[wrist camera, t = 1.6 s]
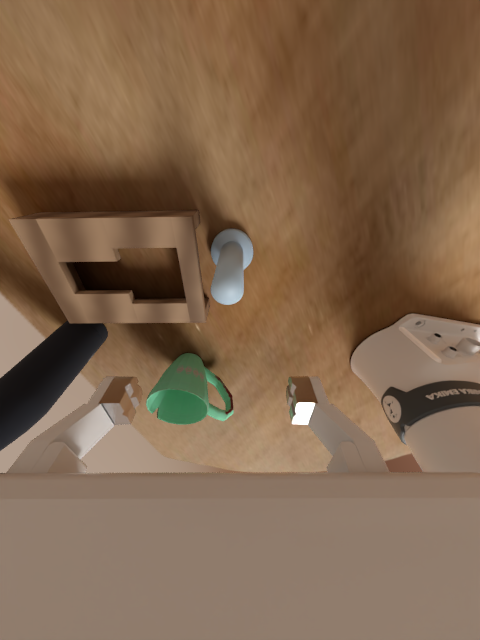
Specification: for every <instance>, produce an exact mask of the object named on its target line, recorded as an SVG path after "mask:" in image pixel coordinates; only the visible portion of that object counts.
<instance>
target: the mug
mask: <svg viewBox="0 0 480 640" xmlns="http://www.w3.org/2000/svg"><path fill="white" fill-rule="evenodd" d="M207 381H208V382H210V383H211V384H212V385H214V386H215V387H216V389H217V390H218V392H219V394H220V395H221V397H222V398H223V400H224V402H225V403H226V411H225V410H221V409H219V408H217V407H215V406H213V405H212V404H210V403H209V400H208V390H207ZM146 406H147V408H148V410H149V411H150V412H151V413H153V412H154V411H155V410H156V409H157V408H158V412H157V418H158V419H160V420H162V421H165V422H168V423H173V424H185V425H186V424H193V423H196V422H199V421H201V420H202V419H204V418H205V417H206V416H207V415H209V416H211V417H213V418H215V419H218V420H221V421H224V420H226V419H227V418H228V417H230V416H231V415H232V414H233V400H232V395H231V393H230V392H229V391H228V389H227V388H226V386H225V385H224V383H223V382H222V381H221V379H220V378H219V377H217V376H216V375H215V374H213V373H212V372H211V371H209V370H208V369H207V368H205V367H204V365H203V362H202V360H201V358H200V357H199V356H197V355H195V354H192V353H185V354H182V355H180V356H179V357H178V358H177V359H176V360H175V361H174V362H173V363H172V364H171V365H170V366H169V368H168V369H167V370H166V371H165V372H164V374H163V375H162V377H161V378H160V380H159V381H158V383H157V384H156V385H155V387H154V388H153V389H152V390H151V392H150V393H149V395H148V397H147V401H146Z"/></svg>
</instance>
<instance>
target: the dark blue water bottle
mask: <svg viewBox="0 0 480 640" xmlns="http://www.w3.org/2000/svg"><path fill="white" fill-rule="evenodd" d="M107 336H108V332H107V329H106V327H105V326H104V325H103V323H69V321H68V320H67V321H66V322H65V323H64V324H63V325H62V326H60V327H59V328H58V329H57V330H56V331H55V332H54V333H52V334H51V335H50V336H49V337H48V338H47V339H45V340H44V341H43V342H42V343H41V344H40V345H39V346H37V347H36V348H35V349H34V350H33V351H32V352H30V353H29V354H28V355H27V356H26V357H25V358H23V359H22V360H21V361H20V362H19V363H18V364H17V365H15V366H14V367H13V368H12V369H11V370H10V371H8V372H7V373H6V374H5V375H4V376H3V377H1V378H0V451H1V450H2V449H4V448H5V447H6V446H7V445H9V444H10V443H12V442H13V441H14V440H16V439H17V438H18V437H20V436H21V435H22V434H24V433H25V432H26V431H27V430H29V429H30V428H31V427H32V426H33V425H34V424H35V423H37V422H38V421H39V420H40V419H41V418H42V417H43V416H44V415H45V414H46V413H47V412H48V411H49V410H50V408H51V407H52V406H53V405H54V403H55V402H56V401H57V400H58V398H59V397H60V396H61V395H62V394H63V392H64V391H65V390H66V388H67V387H68V386H69V385H70V384H71V382H72V381H73V380H74V379H75V377H76V376H77V375H78V374H79V372H80V371H81V370H82V369H83V367H84V366H85V365H86V364H87V362H88V361H89V360H90V359H91V357H92V356H93V355H94V354H95V352H96V351H97V350H98V349H99V347H100V346H101V345H102V344H103V342H104V341H105V340H106V338H107Z"/></svg>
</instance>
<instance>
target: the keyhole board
mask: <svg viewBox="0 0 480 640" xmlns="http://www.w3.org/2000/svg"><path fill="white" fill-rule="evenodd" d="M8 220H9V221H10V223H11V225H12V226H13V228H14V230H15V231H16V233H17V235H18V237H19V238H20V240H21V242H22V243H23V245H24V247H25V248H26V250H27V252H28V254H29V255H30V257H31V259H32V260H33V262H34V264H35V265H36V267H37V269H38V271H39V272H40V274H41V276H42V277H43V279H44V281H45V282H46V284H47V286H48V288H49V289H50V291H51V293H52V294H53V296H54V298H55V299H56V301H57V303H58V305H59V306H60V308H61V310H62V311H63V313H64V315H65V316H66V318H67V320H68V321H69V323H206V320H207V316H208V311H209V307H210V304H209V298H204V293H203V285H202V278H201V270H200V262H199V254H198V246H197V239H196V231H195V229H196V228H197V227H198V225H199V224H200V216H199V210H168V211H104V212H40V213H36V214H31V215H26V216H22V217H17V218H13V219H8ZM117 248H177V253H178V259H179V264H180V269H181V275H182V280H183V286H184V291H185V297H186V298H166V299H135V298H134V295H133V292H132V290H102V291H86V290H85V288H84V286H83V284H82V281H81V279H80V277H79V275H78V273H77V271H76V269H75V267H74V265H73V263H72V262H109V261H118V260H120V259H121V257H120V254H119V251H118V249H117Z"/></svg>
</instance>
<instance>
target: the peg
mask: <svg viewBox="0 0 480 640" xmlns="http://www.w3.org/2000/svg"><path fill="white" fill-rule="evenodd" d="M211 256H212V259H213V261H214V263H215V264H216V265H217V267H216V270H215V274H214V278H213V281H212V285H211V294H212V296H213V298H214V299H215V300H216V301H218V302H219V303H221V304H225V305H230V304H234V303H236V302H238V301H239V300H240V299H241V298H242V296H243V291H244V279H243V270H244V269H245V268H246V267H247V266H248V265H249V264H250V262H251V260H252V257H253V246H252V242H251V240H250V238H249V237H248V236H247V234H245V233H244V232H243V231H241V230H238V229H234V228H230V229H225V230H223V231H221V232H220V233H219V234H218V235H217V236H216V237H215V239H214V241H213V243H212V247H211Z"/></svg>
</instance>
